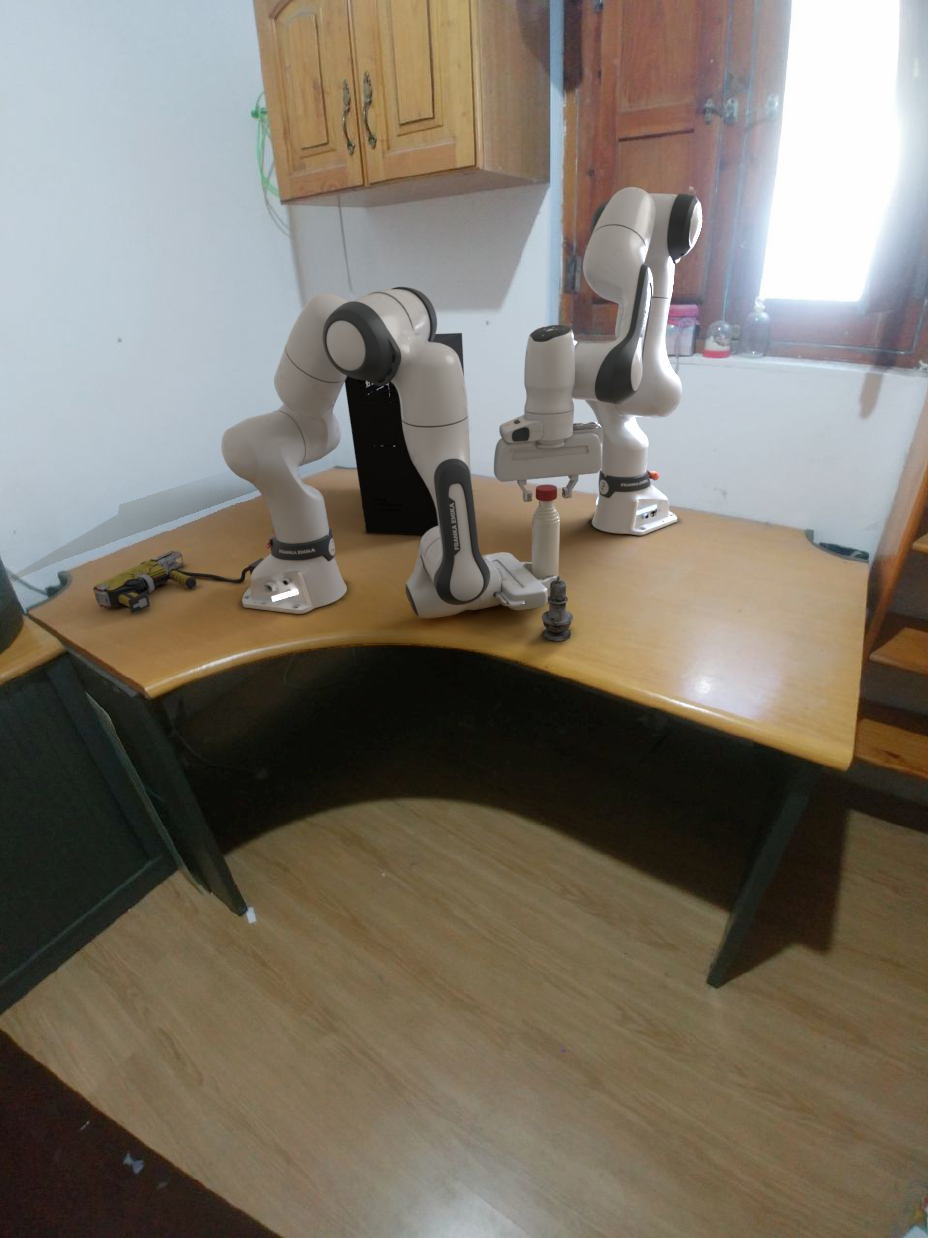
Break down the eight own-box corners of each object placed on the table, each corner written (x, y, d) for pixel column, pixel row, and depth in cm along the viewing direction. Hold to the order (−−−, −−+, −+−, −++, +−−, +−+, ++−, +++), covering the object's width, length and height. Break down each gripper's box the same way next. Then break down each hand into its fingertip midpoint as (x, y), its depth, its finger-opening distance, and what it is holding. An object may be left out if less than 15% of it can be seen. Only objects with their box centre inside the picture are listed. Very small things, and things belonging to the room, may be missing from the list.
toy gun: (220, 558, 145) (169, 547, 149) (142, 600, 125) (86, 587, 129) (223, 576, 147) (173, 565, 151) (147, 620, 127) (92, 606, 131)
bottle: (541, 604, 124) (542, 497, 112) (526, 594, 128) (526, 490, 117) (563, 597, 126) (566, 492, 115) (547, 587, 130) (549, 484, 119)
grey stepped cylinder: (571, 642, 110) (574, 584, 104) (539, 640, 111) (540, 582, 105) (573, 626, 115) (576, 569, 109) (542, 624, 116) (543, 568, 110)
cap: (549, 502, 114) (549, 492, 113) (531, 499, 116) (531, 488, 115) (560, 496, 116) (561, 486, 115) (543, 493, 119) (543, 483, 118)
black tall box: (438, 535, 159) (423, 349, 136) (366, 532, 163) (340, 351, 140) (469, 489, 190) (461, 332, 168) (408, 488, 195) (393, 335, 172)
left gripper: (505, 593, 111) (572, 579, 114) (469, 552, 128) (529, 541, 131) (505, 623, 114) (571, 608, 118) (470, 579, 131) (528, 567, 135)
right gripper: (598, 417, 113) (594, 489, 120) (491, 426, 111) (493, 498, 118) (609, 424, 108) (604, 499, 115) (497, 434, 106) (498, 509, 113)
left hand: (548, 572), depth 125 cm, fingers closed on bottle, 5 cm apart
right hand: (547, 499), depth 116 cm, fingers open, 6 cm apart
